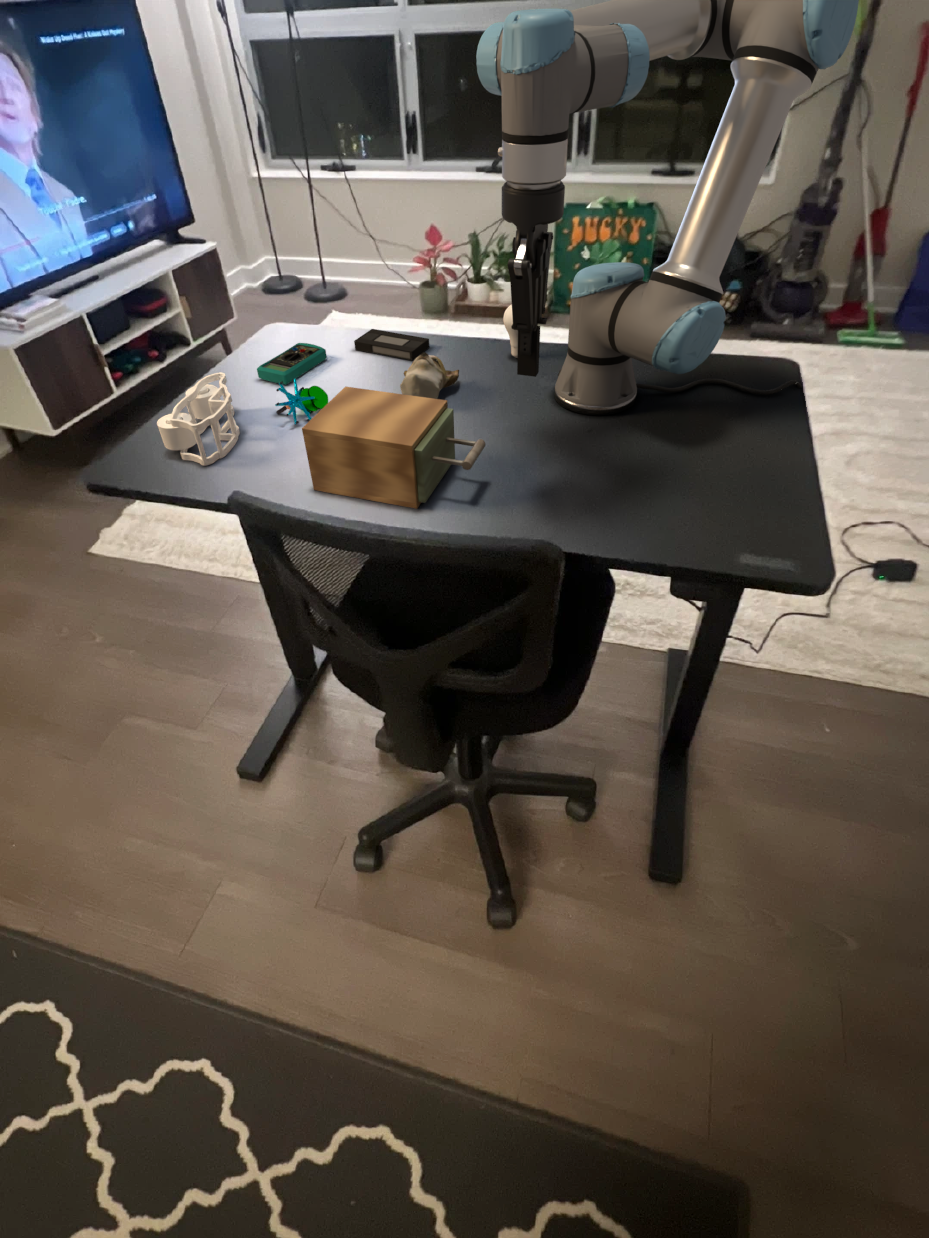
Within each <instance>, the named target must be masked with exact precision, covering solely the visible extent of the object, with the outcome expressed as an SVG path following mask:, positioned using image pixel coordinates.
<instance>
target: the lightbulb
mask: <svg viewBox="0 0 929 1238" xmlns="http://www.w3.org/2000/svg"><path fill="white" fill-rule="evenodd" d="M502 322H503V325H504V328H505V330H506V332H507V334H508V337H509V345H510V354H511V356H512V357H514V358H516V359H518V330H514V329H512V328H511V326H512V324H513V317H512V304H510V305H509V306H508V307H507V308H506V309H505V311H504V313H503V317H502Z"/></svg>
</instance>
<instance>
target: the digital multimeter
mask: <svg viewBox="0 0 929 1238" xmlns="http://www.w3.org/2000/svg"><path fill="white" fill-rule="evenodd" d="M327 356H328V355H327V350H326V348H323V347H321V346H319V345H317V344H312V343H307V342H297V343H295V344H294V345H292V346H291V347H289V348H288V349H286V350H284V351H283V352H282V353H280V354H278V355H276V356H275V357H273V358H271V359H269V360H267V361H265V362H264V363H262V364H260V365H258V367H257V368H256V372H257V377H258V378H259V379H261V380H263V381H266V382H270V383H274V384H279V383H280V382H281V381H283V383H282V385H285V386H286V385H289V384H290V383H291V382H292V380H293V379H294V378H296V379H298V378H299V377H301V376H302V375H304V374H306V373H307V372H308V371H310V370H312V369H313V368H314V367H316V366H318V365H319V364H321V363H323V362H324V361H326V360H327V358H328V357H327ZM292 383H293V382H292Z"/></svg>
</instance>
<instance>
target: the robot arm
mask: <svg viewBox="0 0 929 1238" xmlns="http://www.w3.org/2000/svg"><path fill="white" fill-rule="evenodd" d="M859 1H860V0H607V1H604V2H599V3H595V4H592V5H588V6H583V7H579V8H574V9H567V8H535V9H520V10H515V11H512V12H510V13H508V14H507V16H506V17H505V18H504V21H498V22H494V23H492V24H491V25H489V26H488V27H487V28H485V30H484V31H483V33H482V34H481V37H480V39H479V41H478V45H477V50H476V56H475V57H476V63H475V65H476V72H477V75H478V79H479V82H480V84H481V85H482V86H483V88H484V89H485V90H486V91H487V92H488V93H490V94H492V95H496V96H500V97H501V147H500V146H499V147H498V150H497V155H498V157H501V177H502V179H503V180H504V181H505V182H504V184H503V185H502V186H501V217H502V219H503V220H504V221H505V222H507V223H508V224H509V223H510V224H512V225H514V226H515V227H516V230H515V237H513V238H512V241H511V242H512V243H511V244H512V245H511V249H512V250H511V252H512V254H513V258H509V259H508V261H507V265H506V266H507V271H508V274H509V275H508V276H509V283H510V297H511V298H510V300H511V305H512V317H513V324H512V326H511V328H512V329H514V330H518V358H517V362H516V363H517V365H516V366H517V367H516V375H518V376H524V377H525V376H527V377H534V378H535V377H537V376H538V374H539V371H540V345H541V344H540V343H541V325H547V321H548V318H547V317H543V315H545V313H546V303H547V292H548V281H549V273H550V260H551V252H552V247H553V240H554V232H553V231H548V230H549V225H551V224H553V223H556V222H558V221H559V220H561V219H562V218H563V216H564V212H565V195H566V194H565V193H566V185H565V184H564V182H563V181H562V180H564V179H565V178H566V176H567V165H568V163H567V162H568V142H569V137H568V136H569V126H570V125H569V123H570V115H573V114H576V113H583V112H587V111H593V110H598V109H604V108H612V109H613V108H615V107H616V106H618V105H621V104H623V103H627V102H629V101H631V100H633V99H634V98H635V97H636V96H637V95H638V94H639V93H640V92H641V90H642V89H643V87H644V85H645V83H646V81H647V78H648V74H649V68H650V61H654V60H656V59H660V58H663V57H668V58H670V59H672V60H674V61H675V60H676V61H682V60H685V59H690V58H707V59H717V60H725V61H731V63H730V71H731V74H732V77H733V79H734V86H733V87H732V91H731V94H730V96H729V98H728V101H727V103H726V106H725V109H724V112H723V113H722V117H721V119H720V122H719V123H718V124H719V125H718V127H717V130H716V132H715V135H714V137H713V140H712V142H711V145H710V148H709V150H708V153H707V155H706V158H705V161H704V163H703V166H702V169H701V171H700V173H699V177H698V179H697V181H696V185H695V187H694V189H693V192H692V195H691V197H690V200H689V202H688V205H687V208H686V210H685V212H684V216H683V217H682V218H683V219H682V220H681V223H680V226H679V228H678V231H677V234H676V235H675V239H674V241H673V244H672V246H671V249H670V251H669V254H668V257H667V259H666V261H665V262H663V263H662V264H660V265H659V266H657V267H654V268H653V270H652V272H651V274H650V278H649V280H648V281H645V280H643V279H644V277H645V271H644V268H643V266H642V265H641V264H638V263H635V262H623V261H619V262H618V261H616V262H615V261H614V262H604V263H597V264H592V265H590V266H586V267H584V268H582V269H580V270H579V271H578V272H576V274H575V276H574V277H573V282H572V290H571V294H570V295H569V296H570V297H569V298H570V304H569V305H570V307H569V320H568V321H569V322H568V338H567V351H566V352H567V353H566V357H565V359H564V361H563V364H562V367H561V368H560V370H559V372H558V374H557V379H556V381H555V384H554V394H553V395H554V400H555V401H556V402H557V404H559V406H561V407H563V408H564V409H566V410H568V411H571V412H574V413H578V414H582V415H588V416H589V415H590V416H607V415H608V416H609V415H614V414H618V413H622V412H625V411H627V410H629V409H631V407H632V406H634V405H635V403H636V400H637V394H638V389H642V390H650V391H657V392H662V393H669V394H670V393H671V394H672V393H679V392H683V391H687V390H688V389H692V388H693V387H694V388H695V387H696V386H699V385H702V384H703V385H704V384H718V385H723V386H727V387H731V388H733V389H737V390H739V391H742V392H745V393H750V394H753V395H760V396H770V395H774V394H777V393H779V392H781V391H783V390H784V389H786V388H788V387H790V386H795V387H796V388H799V389H801V388H803V385H802V384H801V382H799V383H797V384H795V383H796V382H797V381H798V380H796V379H791V380H787V381H786V382H784V383H783V384H781V385H779V386H777V387H775V388H772V389H766V391H765V389H756V388H751V387H747V386H745V385H741V384H739V383H736V382H732V381H730V380H726V379H721V378H702V379H698V380H694V381H691V382H689V383H687V384H685V385H681V386H678V387H664V386H661V385H654V384H646V383H637V382H636V376H635V371H634V364H633V360H636V361H639V362H641V363H643V364H646V365H648V366H651V367H653V368H654V369H656V370H659V371H666V372H668V373H672V374H674V375H685V374H688V373H690V372H693V371H694V370H696V369H697V368H698V367H699V366H700V365H702V364H703V363H704V362H705V361H706V360H707V359H708V357H709V356H710V355H712V353H713V351H714V350H715V349H716V347H717V345H718V343H719V342H720V340H721V337H722V334H723V332H724V329H725V321H726V311H725V309H724V306H723V305H722V304H721V303H720V301H721V300H722V297H723V295H724V291H723V287H722V284H721V282H720V281H721V280H720V277H721V274H722V272H723V270H724V267H725V264H726V262H727V260H728V258H729V256H730V253H731V250H732V248H733V245H734V244H735V241H736V238H737V236H738V234H739V231H740V229H741V227H742V224H743V222H744V219H745V217H746V214H747V212H748V210H749V207H750V205H751V203H752V200H753V198H754V196H755V193H756V191H757V188H758V186H759V184H760V182H761V179H762V176H763V175H764V173H765V169H766V168H767V167H766V166H767V164H768V162H769V160H770V158H771V155H772V154H773V153H772V152H773V150H774V149H775V146H776V143H777V141H778V138H779V136H780V133H781V131H782V128H783V126H784V125H785V121H786V119H787V117H788V114H789V112H790V110H791V107H792V105H793V102H794V101H795V100H796V99H797V98H799V97H800V96H803V95H804V94H806V93H807V92H808V91H810V89H811V88H812V85H813V82H814V80H815V78H816V76H817V74H818V72H819V70H826V69H828V68H831V67H833V66H834V65H836V64H837V63H838V60H840V58H842V56H843V55H844V53H845V51H846V49H847V47H848V45H849V42H850V41H851V38H852V35H853V31H854V28H855V25H856V20H857V16H858V11H859V10H858V8H859ZM792 384H793V385H792ZM781 389H782V390H781Z"/></svg>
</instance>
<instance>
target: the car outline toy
mask: <svg viewBox="0 0 929 1238" xmlns="http://www.w3.org/2000/svg"><path fill="white" fill-rule="evenodd" d="M215 381H218V385H219V387H217V386H216V385H214V384H210V383H213V382H215ZM227 382H228V380H227V376H226V373H225V372H215V373H211V374H208V375H206V376H204V377H202V378H201V379H200V380H198V381H197V382H196V383H195V384H194V386H192V387H189V388H188V389H187V390H186V391H185V396H184V397H182V398H181V399H180V400H179V401H178V402H177V404H176V405H174V407H173V409H172V412H171V413H168V414H166V415H163V416H161V417H160V418H159V419H157V421H156V425H157V428H158V431H159V433H160V437H161V440H162V442H163V446H164V448H166V449H167V450H169V451H180V452H179V453H180V457H181V459H182V461H191V462H194V463H198V464H200V465H201V466H204V467H205V466H209V465H212V464H215V462H216V461H218V460H219V459H223V458H225V457H226V456H227V455H228V454H229V453H230V451H231V450H232V449H233V448H234V446H235V445H236V444H237V442H238V440H239V436H240V435H241V430H240V427H239V426H238V425H237V422H236V419H235V418H234V415H235V413H236V412H235V409H234V406H233V404H232V402H233V399H232V394H231V393H230V392H229V390H228V387H227ZM221 397H222V398H223V399H221ZM185 407H186V409H187V412H181V411H183V409H184V408H185ZM225 414H226V416H227V420H226V422H225V423H224V424H223V425H222V426H221V424H220V422H219V421H220V419H222V417H224V416H225ZM197 420H201V421H199V422H198V423H197ZM209 426H210V427H211V428H210V429H211V431H212V434H213V438H214V443H215V446H216V449H217V451H214V452H213V453H212V454H210V455H209V456H207V454H206V450H205V447H204V444H203V441H202V438H201V434H203V433H204V432H205V431H206V430H207V428H208V427H209ZM229 430H230V431H231V433H227V432H228V431H229ZM221 441H227V443H226V444H225V445H224V446H223V445H222V442H221ZM196 444H197V448H198V451H199V454H195V453H193V452H192V453H191V452H188V450H189V449H190V448H192V447H194V446H195V445H196Z"/></svg>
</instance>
